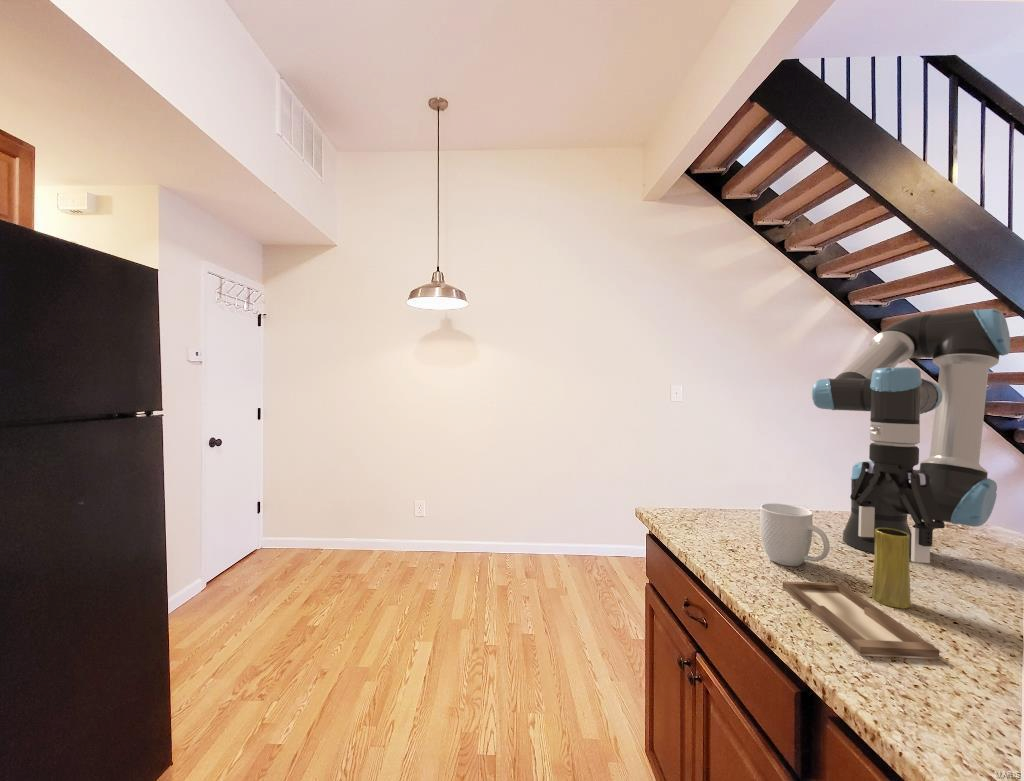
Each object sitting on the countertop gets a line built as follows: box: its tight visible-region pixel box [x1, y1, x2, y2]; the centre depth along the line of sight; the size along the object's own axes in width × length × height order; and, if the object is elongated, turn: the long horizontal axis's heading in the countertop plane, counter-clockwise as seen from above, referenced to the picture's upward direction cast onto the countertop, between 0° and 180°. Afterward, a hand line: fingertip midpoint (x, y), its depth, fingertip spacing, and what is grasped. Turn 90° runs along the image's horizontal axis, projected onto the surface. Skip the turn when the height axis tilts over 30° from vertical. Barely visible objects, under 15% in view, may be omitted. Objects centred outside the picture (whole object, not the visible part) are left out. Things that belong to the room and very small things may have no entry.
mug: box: [759, 502, 831, 567], centre depth 105 cm, size 15×11×13 cm
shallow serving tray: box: [782, 581, 940, 660], centre depth 81 cm, size 12×23×2 cm, turn 176°
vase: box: [870, 528, 912, 609], centre depth 87 cm, size 6×6×14 cm
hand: (891, 548), depth 87 cm, fingers open, 13 cm apart
